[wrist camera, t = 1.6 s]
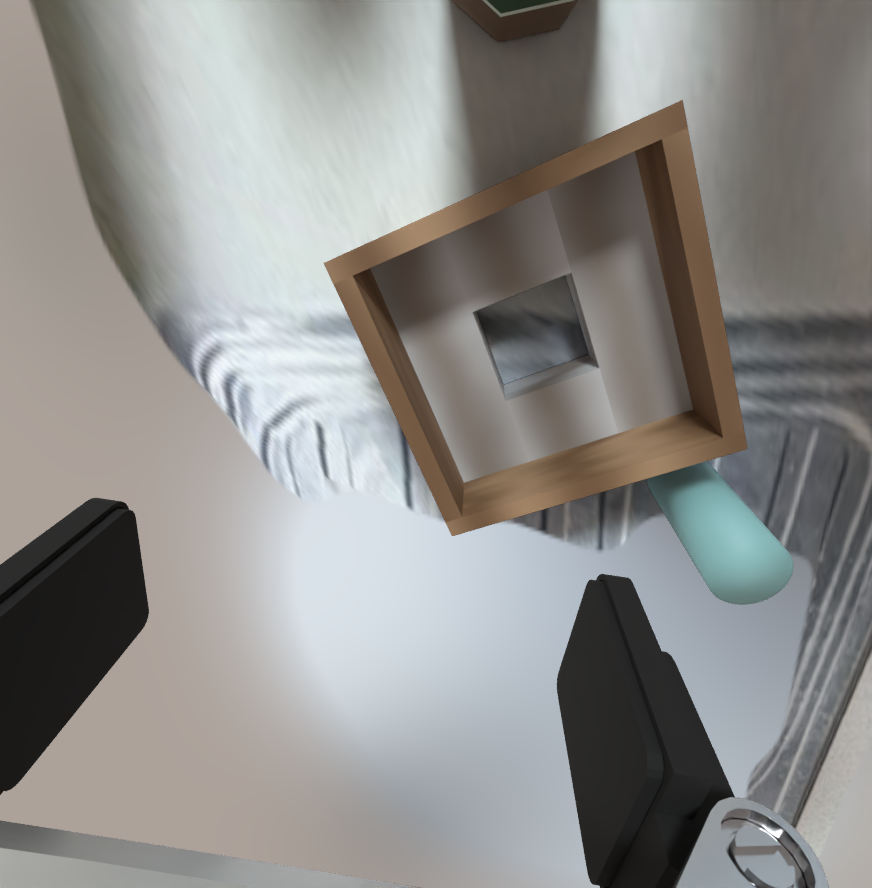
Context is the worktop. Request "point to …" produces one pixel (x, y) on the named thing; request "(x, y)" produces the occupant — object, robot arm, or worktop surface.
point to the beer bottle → (516, 16)
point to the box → (600, 315)
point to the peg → (722, 535)
